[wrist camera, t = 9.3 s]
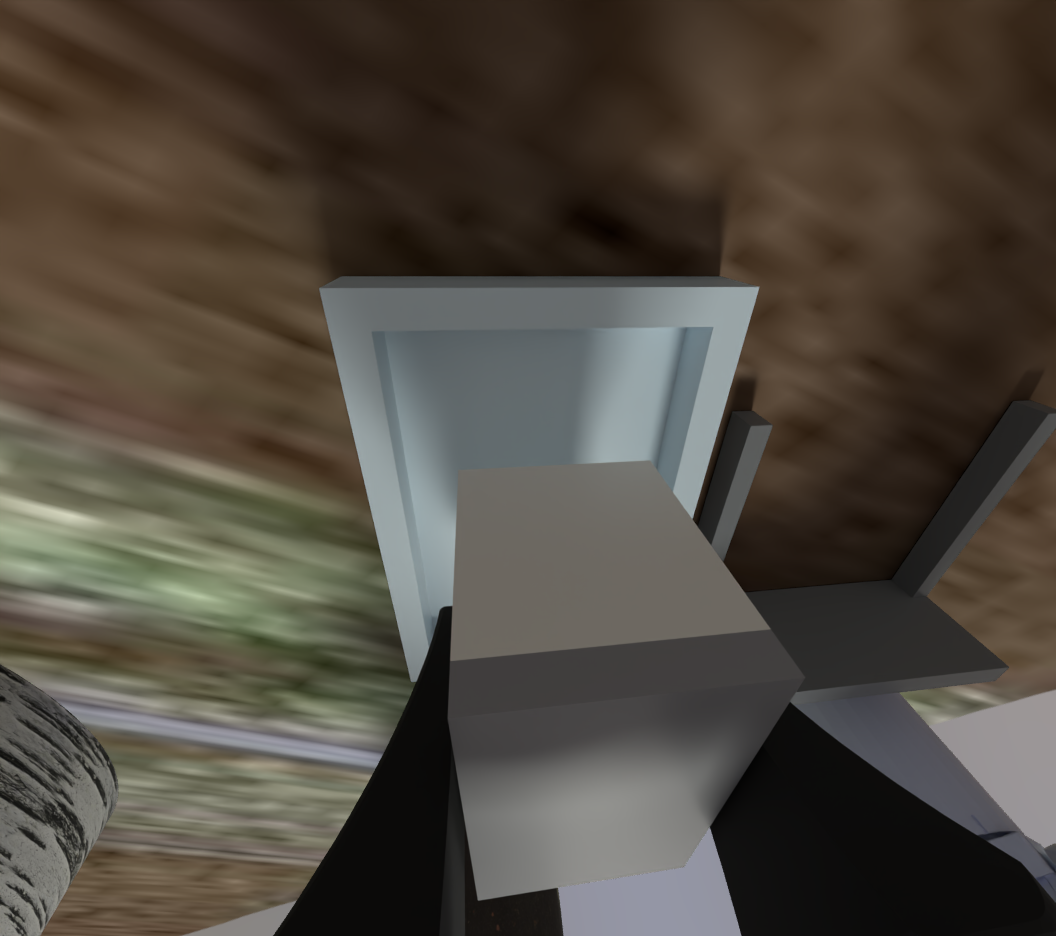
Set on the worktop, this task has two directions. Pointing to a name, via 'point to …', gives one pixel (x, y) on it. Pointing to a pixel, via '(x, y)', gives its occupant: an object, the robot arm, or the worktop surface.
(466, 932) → the container
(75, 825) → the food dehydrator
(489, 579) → the block
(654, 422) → the tray
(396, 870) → the robot arm
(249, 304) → the worktop surface
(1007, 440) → the bay
